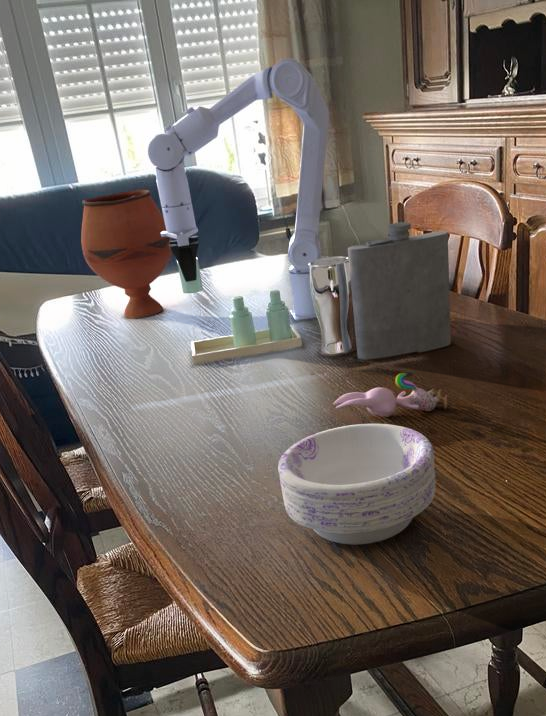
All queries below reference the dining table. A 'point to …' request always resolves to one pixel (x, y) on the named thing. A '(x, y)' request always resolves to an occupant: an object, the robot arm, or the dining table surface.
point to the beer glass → (333, 303)
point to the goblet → (126, 245)
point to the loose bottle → (191, 285)
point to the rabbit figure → (392, 398)
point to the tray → (226, 350)
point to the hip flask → (400, 293)
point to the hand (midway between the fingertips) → (190, 278)
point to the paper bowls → (358, 481)
